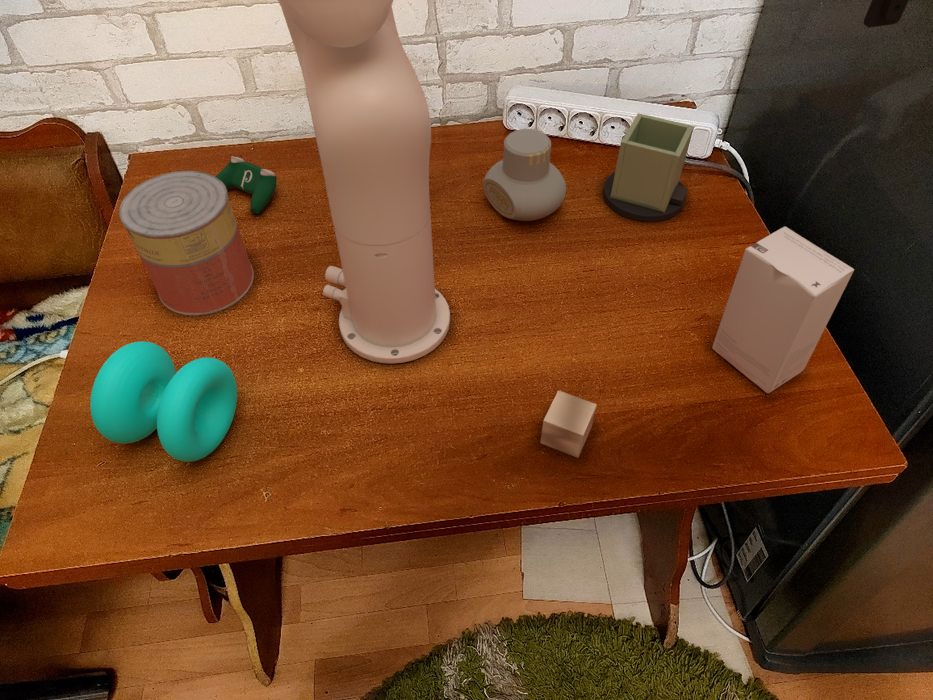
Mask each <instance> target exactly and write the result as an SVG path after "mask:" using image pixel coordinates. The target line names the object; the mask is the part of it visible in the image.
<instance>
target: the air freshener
mask: <svg viewBox="0 0 933 700" xmlns="http://www.w3.org/2000/svg"><path fill="white" fill-rule="evenodd" d="M551 151H552V141H551V138H550V137H549V136H548V135H547V134H545V133H544V132H542V131H540V130H538V129H534V128H520V129H517V130H514V131H512V132H510V133H508V135H506V136H505V138H504V141H503V155H502V156H503V157H502V159H501V160H499V161H497V162H496V163H495V164H494V165H492V166H491V167H490V168H489V170H488V171H487V173H486V174H485V176H484V178H483V183H482V188H483V192H484V194H485V197H486V198H487V200H488V202H489V203H490V205H491V206H492V207H493V208H494V209H495V210H496V211H497V212H498V213H499V214H500V215H501V216H503V217H505V218H507V219H510V220H514V221H519V222H532V221H537V220H540V219H543V218H546V217H548V216H550V215H551V214H553V213H554V212H556V211H557V210H558V209H559V208H560V207H561V205H562V204H563V202H564V200H565V198H566V195H567V183H566V181H565V178H564V177H563V175H562V173H561V172H560V170H559V169H558V168H557V167H556V166H555V165H554V164H553V163H551V154H552V153H551Z"/></svg>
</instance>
